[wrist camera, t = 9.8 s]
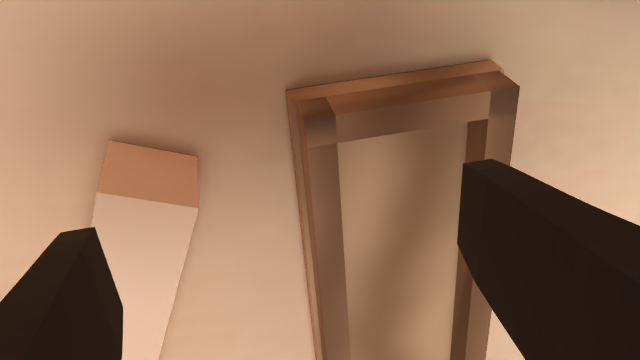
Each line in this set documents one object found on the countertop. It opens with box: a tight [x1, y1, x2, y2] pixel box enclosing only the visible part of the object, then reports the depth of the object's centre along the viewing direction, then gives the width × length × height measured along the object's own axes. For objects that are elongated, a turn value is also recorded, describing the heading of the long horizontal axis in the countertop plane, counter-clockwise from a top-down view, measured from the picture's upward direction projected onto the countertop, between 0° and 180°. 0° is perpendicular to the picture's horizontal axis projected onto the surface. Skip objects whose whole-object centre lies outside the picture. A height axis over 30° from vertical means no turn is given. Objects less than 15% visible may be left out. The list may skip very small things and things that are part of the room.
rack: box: [286, 60, 520, 360], centre depth 25 cm, size 8×20×2 cm, turn 4°
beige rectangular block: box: [91, 140, 199, 360], centre depth 21 cm, size 3×12×4 cm, turn 161°
